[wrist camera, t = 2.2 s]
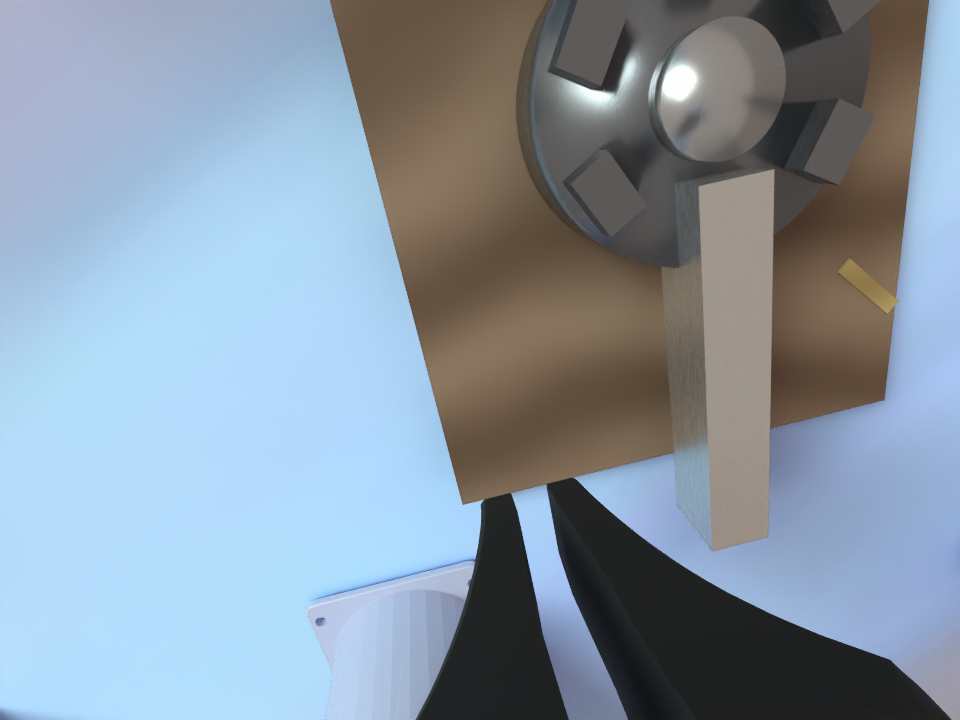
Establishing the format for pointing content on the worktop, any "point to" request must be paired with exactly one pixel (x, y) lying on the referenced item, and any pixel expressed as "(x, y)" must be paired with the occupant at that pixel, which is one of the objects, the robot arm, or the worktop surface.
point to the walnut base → (596, 253)
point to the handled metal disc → (699, 190)
